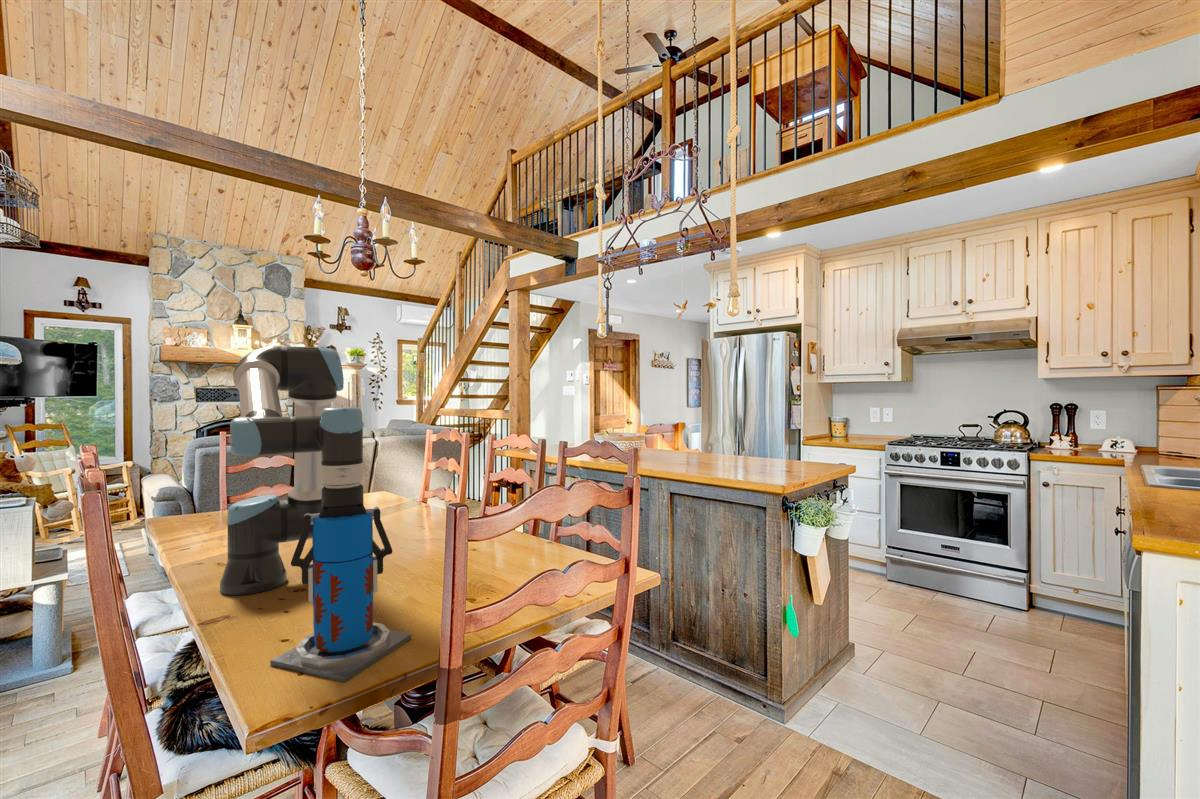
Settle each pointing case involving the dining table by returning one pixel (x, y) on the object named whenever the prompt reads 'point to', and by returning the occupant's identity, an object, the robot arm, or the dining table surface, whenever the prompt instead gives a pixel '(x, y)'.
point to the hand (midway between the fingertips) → (343, 594)
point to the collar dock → (340, 671)
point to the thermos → (342, 582)
